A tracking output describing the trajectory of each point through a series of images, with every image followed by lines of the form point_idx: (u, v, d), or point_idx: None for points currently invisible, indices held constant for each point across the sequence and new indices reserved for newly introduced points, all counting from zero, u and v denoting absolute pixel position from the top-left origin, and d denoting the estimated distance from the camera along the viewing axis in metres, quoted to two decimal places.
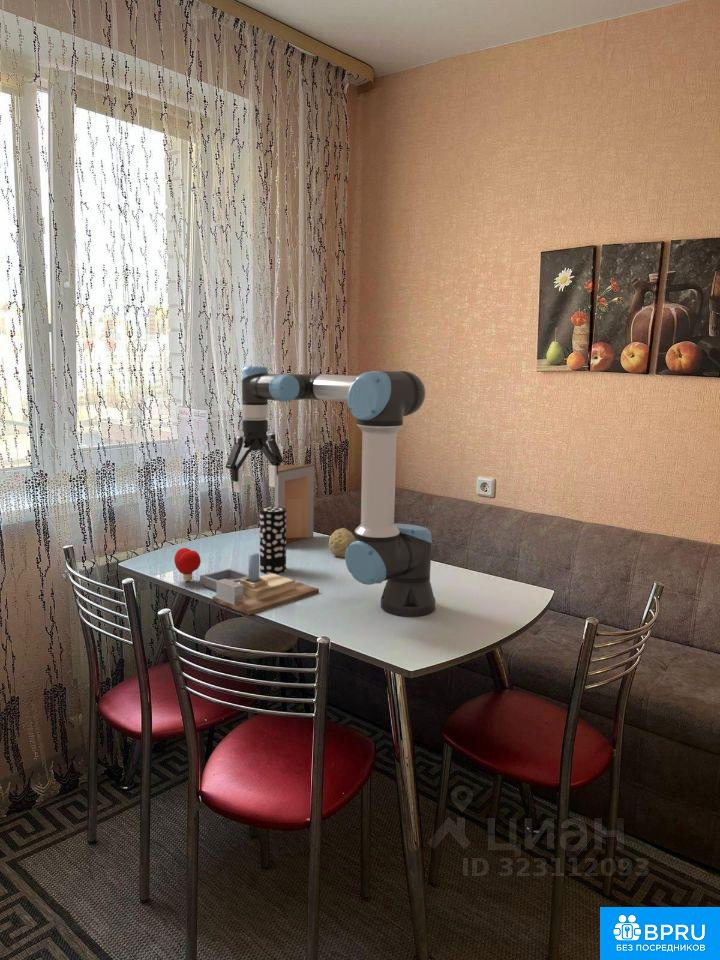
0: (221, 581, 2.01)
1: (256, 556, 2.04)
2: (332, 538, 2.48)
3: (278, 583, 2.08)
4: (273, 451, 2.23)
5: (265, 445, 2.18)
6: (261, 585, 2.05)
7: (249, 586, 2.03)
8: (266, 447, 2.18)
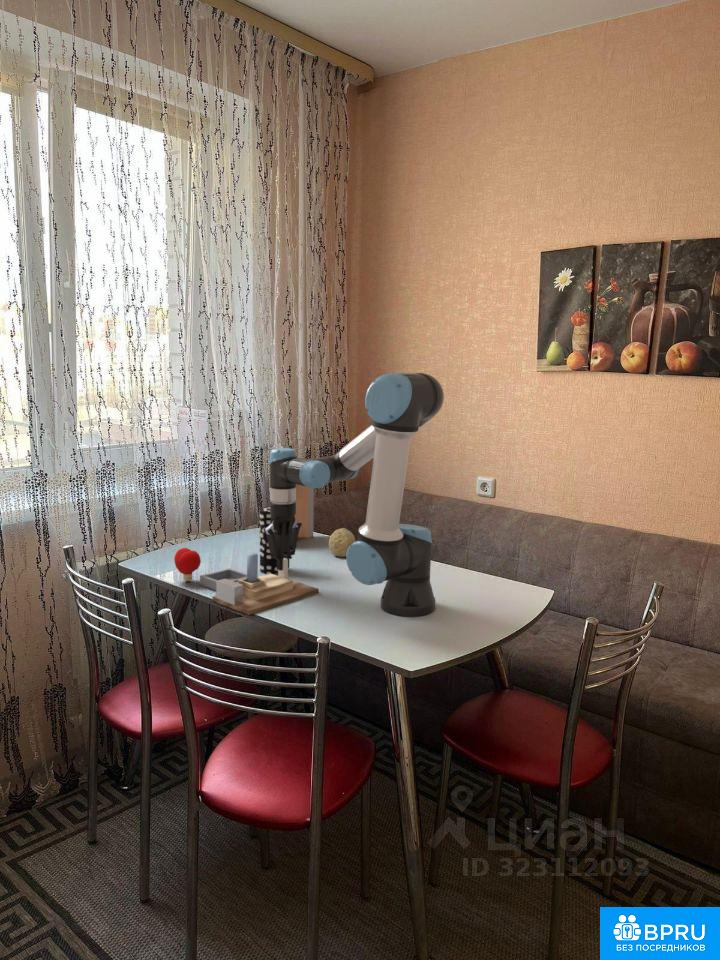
0: (221, 581, 2.01)
1: (254, 557, 2.04)
2: (332, 538, 2.48)
3: (276, 584, 2.08)
4: (290, 539, 2.15)
5: (289, 530, 2.12)
6: (259, 585, 2.04)
7: (247, 586, 2.03)
8: (289, 532, 2.12)
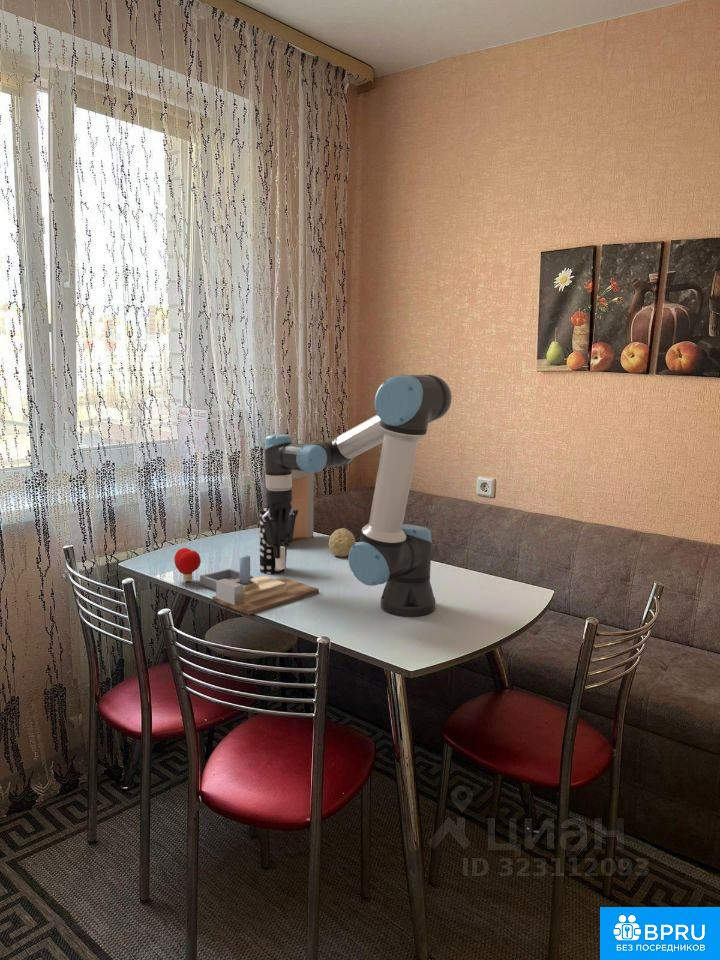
0: (221, 581, 2.01)
1: (247, 559, 2.01)
2: (332, 538, 2.48)
3: (269, 586, 2.05)
4: (287, 527, 2.13)
5: (286, 517, 2.10)
6: (252, 588, 2.02)
7: None
8: (286, 520, 2.10)
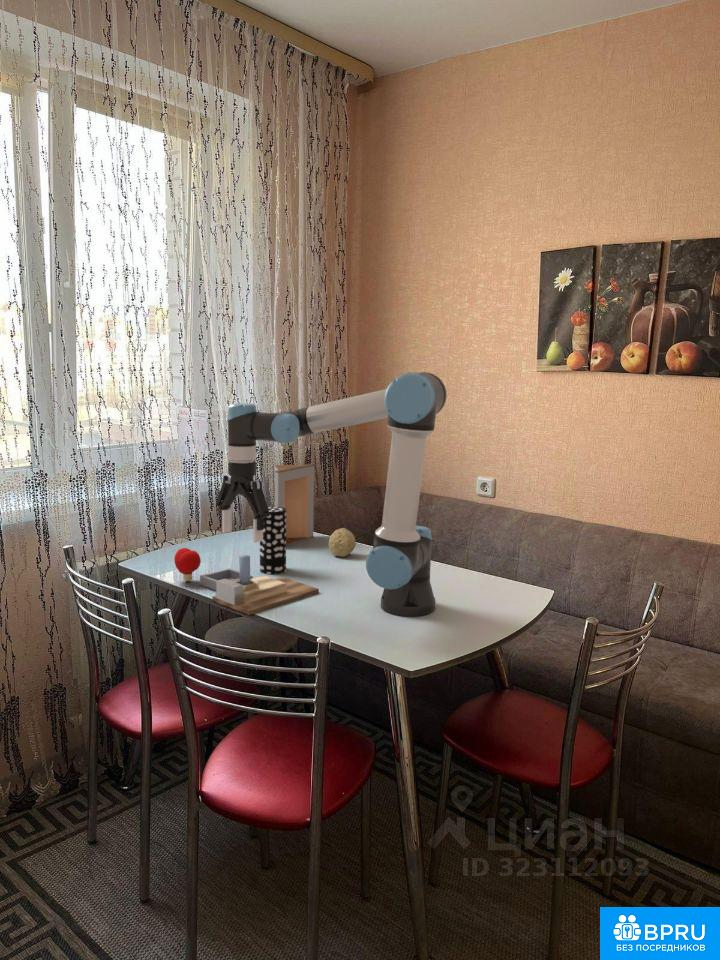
0: (221, 581, 2.01)
1: (247, 559, 2.02)
2: (332, 538, 2.48)
3: (269, 586, 2.05)
4: None
5: (243, 491, 1.96)
6: (252, 588, 2.02)
7: None
8: (243, 494, 1.96)
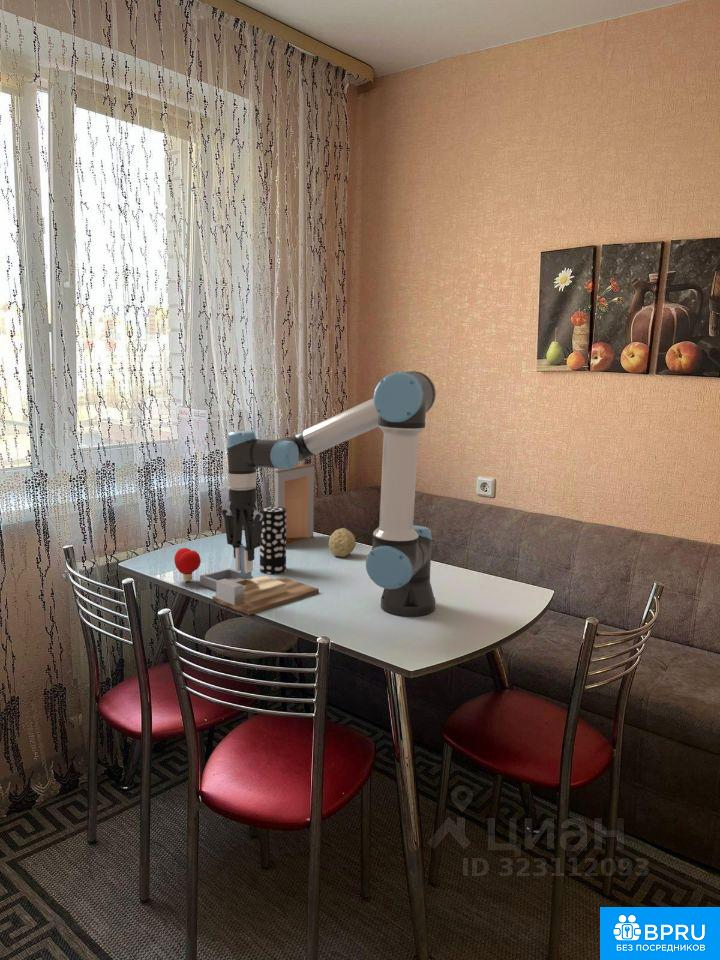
0: (221, 581, 2.01)
1: None
2: (332, 538, 2.48)
3: (269, 586, 2.05)
4: None
5: (243, 519, 1.98)
6: (252, 588, 2.02)
7: None
8: (243, 522, 1.98)
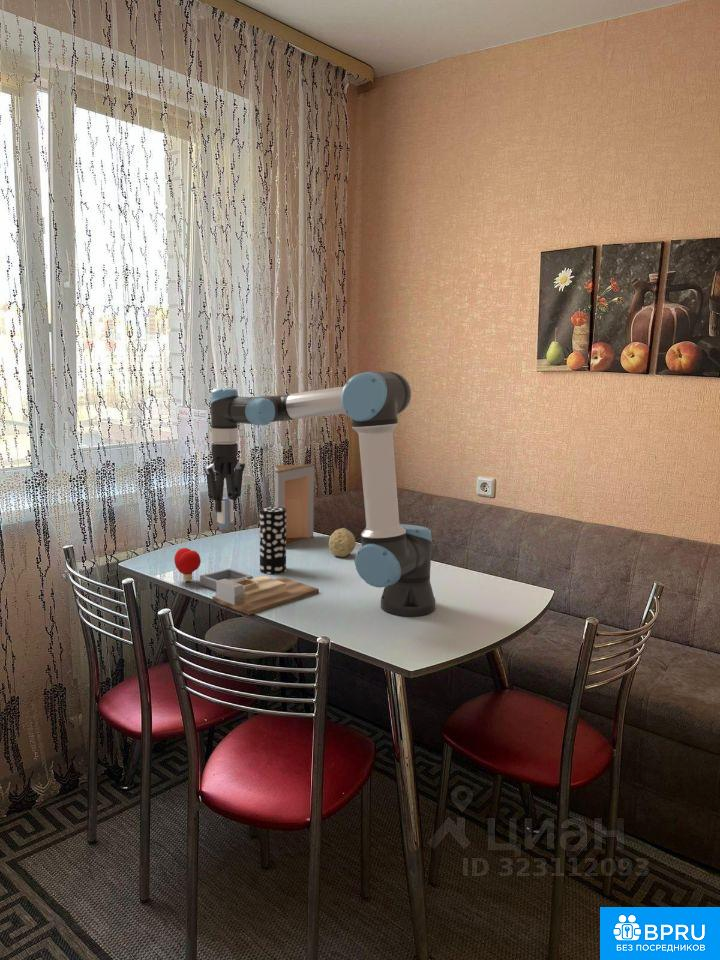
0: (221, 581, 2.01)
1: None
2: (332, 538, 2.48)
3: (269, 586, 2.05)
4: (235, 481, 2.15)
5: (232, 471, 2.11)
6: (252, 588, 2.02)
7: None
8: (232, 473, 2.11)
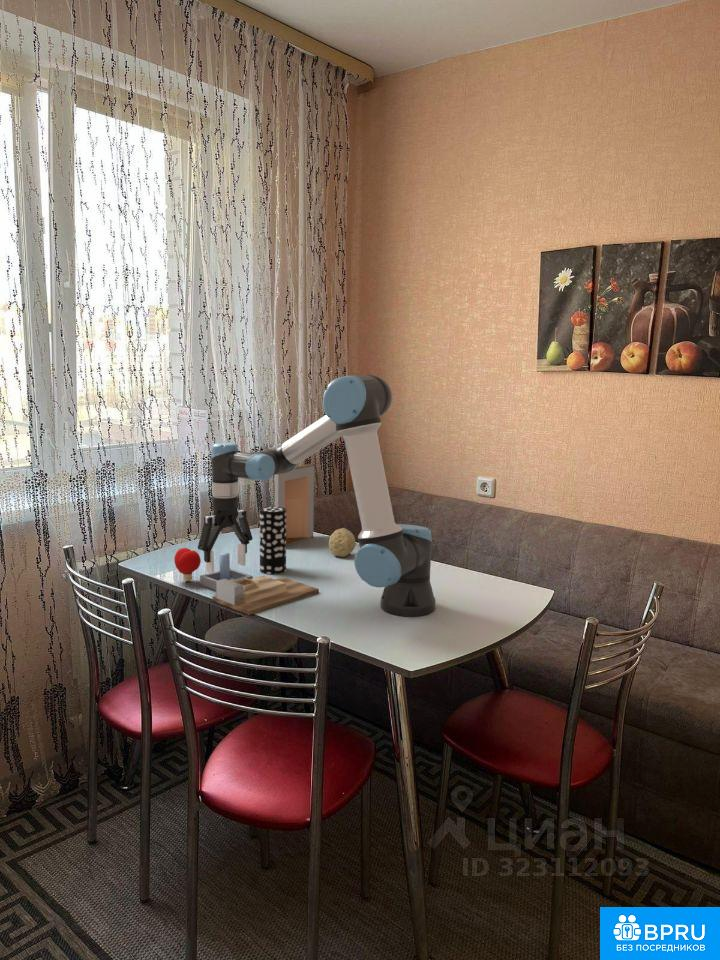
0: (221, 581, 2.01)
1: None
2: (332, 538, 2.48)
3: (269, 586, 2.05)
4: (243, 528, 2.19)
5: (235, 522, 2.14)
6: (252, 588, 2.02)
7: None
8: (236, 524, 2.15)
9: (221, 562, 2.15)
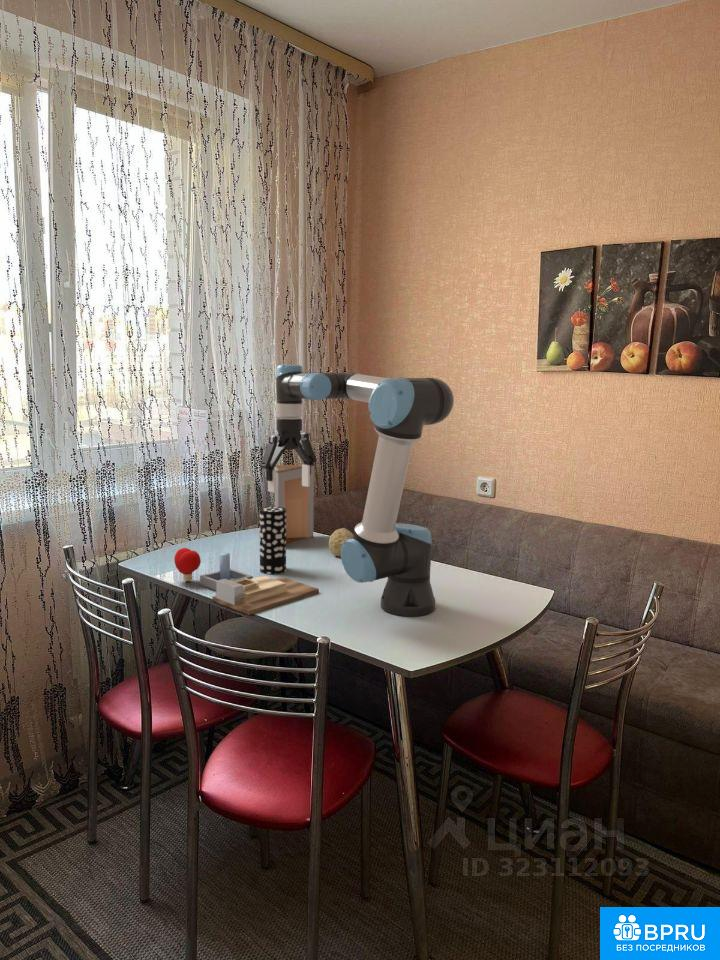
0: (221, 581, 2.01)
1: None
2: (332, 538, 2.48)
3: (269, 586, 2.05)
4: (306, 450, 2.21)
5: (299, 444, 2.16)
6: (252, 588, 2.02)
7: None
8: (300, 446, 2.16)
9: (221, 562, 2.15)
